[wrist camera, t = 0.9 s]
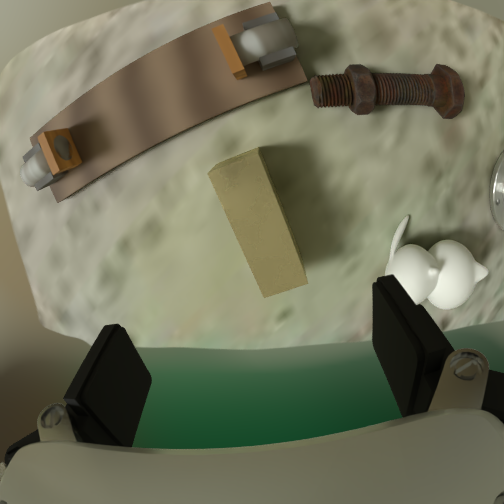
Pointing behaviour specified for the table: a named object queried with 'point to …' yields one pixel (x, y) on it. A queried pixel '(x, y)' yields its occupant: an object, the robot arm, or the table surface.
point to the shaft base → (164, 97)
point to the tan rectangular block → (259, 222)
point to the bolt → (390, 90)
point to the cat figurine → (435, 271)
